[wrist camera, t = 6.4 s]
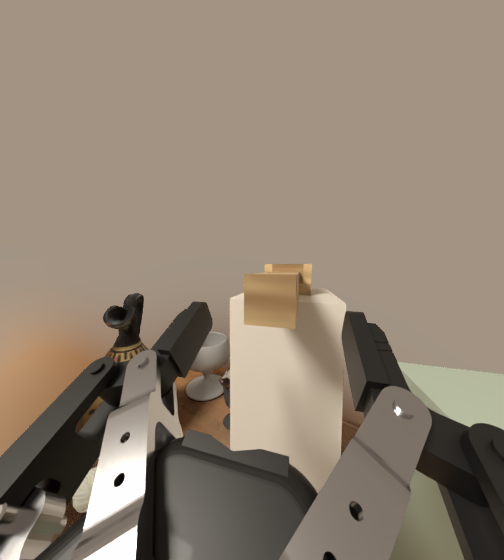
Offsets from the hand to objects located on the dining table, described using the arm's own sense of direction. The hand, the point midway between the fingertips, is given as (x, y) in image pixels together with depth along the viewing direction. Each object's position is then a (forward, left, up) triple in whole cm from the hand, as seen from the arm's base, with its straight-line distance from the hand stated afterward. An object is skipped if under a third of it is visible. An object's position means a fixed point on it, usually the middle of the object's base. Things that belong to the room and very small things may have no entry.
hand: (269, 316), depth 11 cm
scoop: (-5, +9, -1) cm, 11 cm away
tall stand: (-8, +14, -33) cm, 36 cm away
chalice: (-40, +20, -33) cm, 55 cm away
